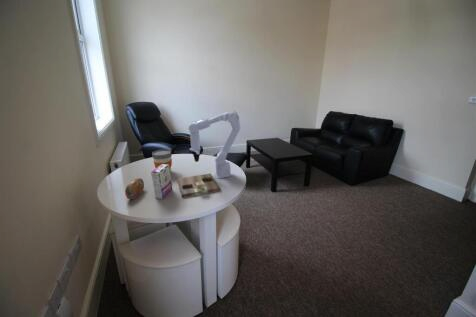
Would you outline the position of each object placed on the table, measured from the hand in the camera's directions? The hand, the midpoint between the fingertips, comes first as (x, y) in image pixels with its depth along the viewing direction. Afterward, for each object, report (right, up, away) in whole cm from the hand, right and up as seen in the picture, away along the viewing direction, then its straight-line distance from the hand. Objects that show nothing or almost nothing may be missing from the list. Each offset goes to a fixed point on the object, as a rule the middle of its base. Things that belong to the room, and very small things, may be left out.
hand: (196, 161), depth 145 cm
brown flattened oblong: (-31, -19, -20) cm, 42 cm away
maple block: (+6, -16, -19) cm, 26 cm away
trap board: (+3, -15, -11) cm, 18 cm away
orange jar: (-25, -8, +9) cm, 27 cm away
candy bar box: (-15, -19, -20) cm, 31 cm away
